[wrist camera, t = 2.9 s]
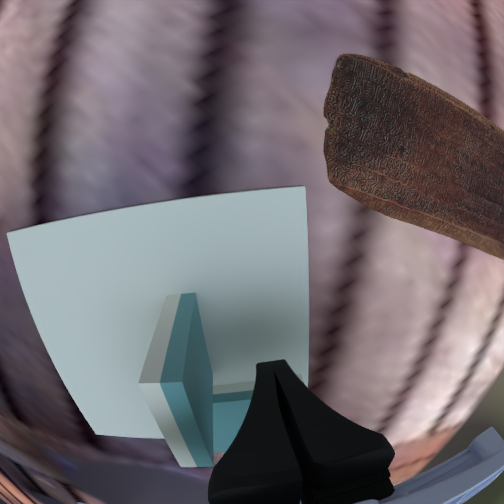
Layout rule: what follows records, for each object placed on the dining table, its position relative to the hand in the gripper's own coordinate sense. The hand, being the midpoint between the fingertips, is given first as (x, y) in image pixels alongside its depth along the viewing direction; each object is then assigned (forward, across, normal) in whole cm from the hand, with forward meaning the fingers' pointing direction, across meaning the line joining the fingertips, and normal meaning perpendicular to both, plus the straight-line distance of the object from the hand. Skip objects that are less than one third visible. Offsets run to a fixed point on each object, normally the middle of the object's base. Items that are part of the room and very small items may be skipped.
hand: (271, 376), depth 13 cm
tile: (+4, +4, 0) cm, 6 cm away
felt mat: (+4, +6, +1) cm, 8 cm away
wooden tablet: (+5, -17, -8) cm, 20 cm away
